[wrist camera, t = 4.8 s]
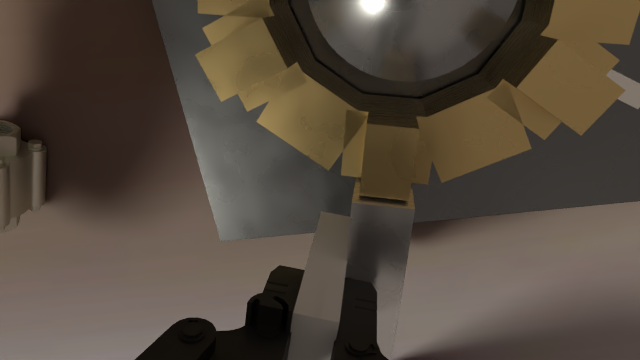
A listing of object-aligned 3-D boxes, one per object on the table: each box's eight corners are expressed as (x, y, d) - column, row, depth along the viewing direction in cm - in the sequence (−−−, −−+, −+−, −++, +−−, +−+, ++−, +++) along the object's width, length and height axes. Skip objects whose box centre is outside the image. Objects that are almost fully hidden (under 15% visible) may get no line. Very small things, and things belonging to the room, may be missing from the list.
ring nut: (223, -263, 15) (147, -384, 10) (669, -259, 13) (821, -399, 9) (231, 258, 22) (189, 327, 17) (517, 296, 21) (554, 381, 16)
